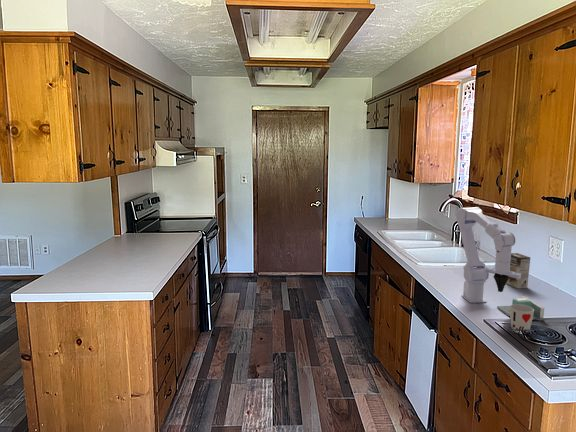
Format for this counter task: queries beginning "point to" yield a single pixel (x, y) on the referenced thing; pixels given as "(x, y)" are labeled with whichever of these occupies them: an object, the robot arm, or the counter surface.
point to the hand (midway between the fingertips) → (500, 291)
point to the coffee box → (519, 270)
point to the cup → (521, 317)
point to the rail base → (537, 308)
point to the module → (522, 301)
